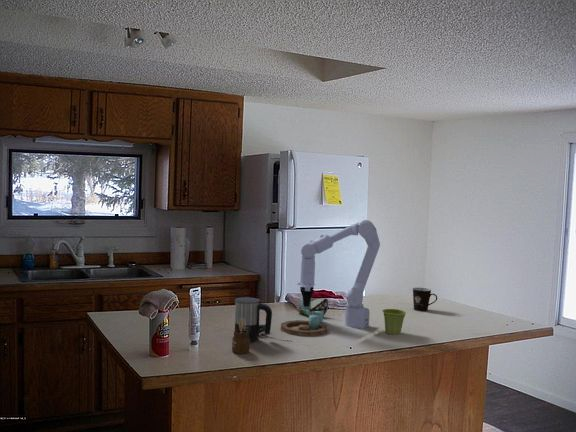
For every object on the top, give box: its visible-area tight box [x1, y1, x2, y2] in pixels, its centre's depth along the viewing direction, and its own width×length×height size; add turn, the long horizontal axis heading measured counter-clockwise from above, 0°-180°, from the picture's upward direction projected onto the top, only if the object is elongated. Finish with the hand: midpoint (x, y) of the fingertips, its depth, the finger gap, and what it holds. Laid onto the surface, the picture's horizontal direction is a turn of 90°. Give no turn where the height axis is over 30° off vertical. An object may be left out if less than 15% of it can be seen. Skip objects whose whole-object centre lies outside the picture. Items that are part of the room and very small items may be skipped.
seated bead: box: [308, 315, 319, 330], centre depth 240 cm, size 4×4×5 cm
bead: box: [300, 296, 311, 310], centre depth 252 cm, size 4×4×5 cm
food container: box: [296, 297, 329, 317], centre depth 266 cm, size 12×6×10 cm
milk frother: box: [234, 297, 273, 343], centre depth 227 cm, size 14×16×15 cm
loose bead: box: [313, 311, 324, 324], centre depth 253 cm, size 4×4×5 cm
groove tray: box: [280, 319, 328, 337], centre depth 238 cm, size 18×18×2 cm
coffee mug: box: [412, 286, 438, 312], centre depth 290 cm, size 12×9×10 cm
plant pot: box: [382, 308, 407, 335], centre depth 244 cm, size 9×9×9 cm
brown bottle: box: [231, 319, 251, 355], centre depth 208 cm, size 6×6×12 cm
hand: (306, 305), depth 252 cm, fingers closed on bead, 4 cm apart
